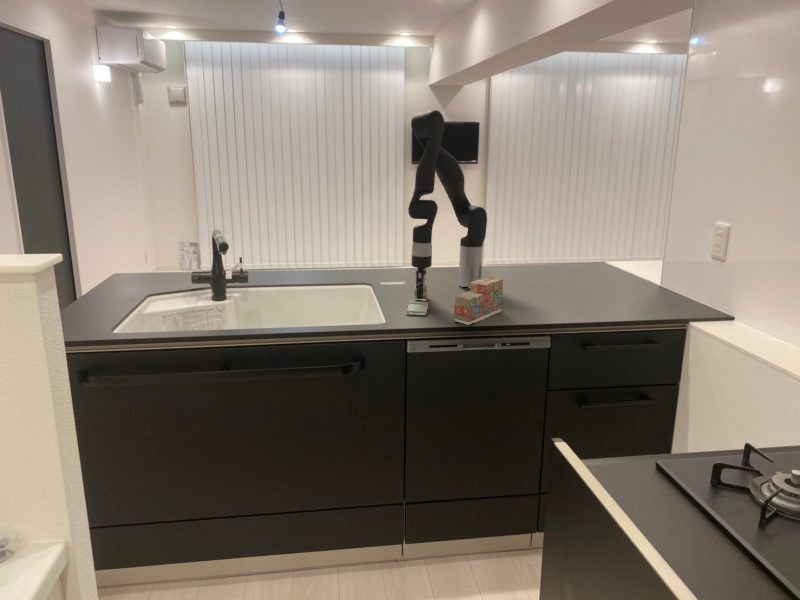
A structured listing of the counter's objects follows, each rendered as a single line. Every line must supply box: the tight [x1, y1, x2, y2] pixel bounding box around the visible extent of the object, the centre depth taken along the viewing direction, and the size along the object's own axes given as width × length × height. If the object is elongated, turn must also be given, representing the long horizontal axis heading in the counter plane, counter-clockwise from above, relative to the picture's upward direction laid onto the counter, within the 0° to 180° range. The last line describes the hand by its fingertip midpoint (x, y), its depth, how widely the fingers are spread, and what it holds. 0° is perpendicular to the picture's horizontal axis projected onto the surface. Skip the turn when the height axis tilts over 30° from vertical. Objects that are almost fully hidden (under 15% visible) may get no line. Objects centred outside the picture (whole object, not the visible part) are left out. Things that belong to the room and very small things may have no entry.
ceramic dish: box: [406, 300, 430, 313], centre depth 210 cm, size 7×12×2 cm, turn 174°
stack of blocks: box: [453, 276, 504, 322], centre depth 202 cm, size 21×6×12 cm, turn 141°
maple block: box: [413, 285, 429, 300], centre depth 224 cm, size 5×5×5 cm
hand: (420, 295), depth 224 cm, fingers open, 8 cm apart
